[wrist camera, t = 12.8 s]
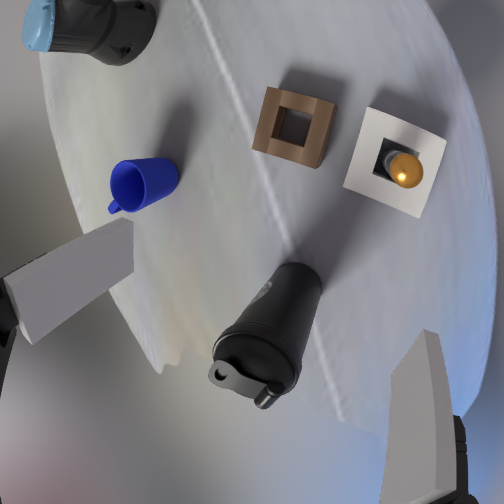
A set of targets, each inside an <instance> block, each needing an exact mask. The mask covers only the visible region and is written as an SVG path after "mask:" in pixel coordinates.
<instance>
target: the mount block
mask: <svg viewBox="0 0 504 504" xmlns="http://www.w3.org/2000/svg"><path fill="white" fill-rule="evenodd" d="M287 108H288V109H292V110H296V111H299V112H303V113H307V114H310V115H313V117H312V121H311V125H310V128H309V132H308V135H307V139H306V142H305V145H302V144H298V143H295V142H292V141H288V140H285V139H282V138H279V137H280V133H281V129H282V125H283V122H284V118H285V114H286V110H287ZM336 110H337V106H336V105H335V104H334V103H331V102H328V101H324V100H321V99H317V98H314V97H310V96H306V95H302V94H298V93H294V92H290V91H286V90H281V89H277V88H272V87H267V90H266V94H265V98H264V102H263V106H262V110H261V114H260V118H259V122H258V126H257V130H256V134H255V138H254V142H253V146H252V149H253V150H257V151H260V152H264V153H267V154H270V155H274V156H277V157H280V158H284V159H287V160H290V161H293V162H296V163H299V164H302V165H305V166H308V167H311V168H314V169H316V168H318V167H320V165H321V161H322V158H323V155H324V151H325V148H326V145H327V141H328V138H329V134H330V131H331V127H332V124H333V120H334V117H335V113H336Z"/></svg>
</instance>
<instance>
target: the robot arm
mask: <svg viewBox="0 0 504 504" xmlns="http://www.w3.org/2000/svg"><path fill="white" fill-rule="evenodd" d="M155 21H156V16H155V11H154V9H153V7H152V6H151V5H150V4H149V3H147V2H145V1H142V0H31V2H30V5H29V7H28V10H27V12H26V16H25V19H24V23H23V29H22V40H23V43H24V46H25V47H26V48H27V49H28V50H32V51H41V52H69V53H83V54H89V55H90V56H92V57H94V58H96V59H97V60H99V61H101V62H103V63H105V64H108V65H115V66H121V65H124V64H127V63H129V62H131V61H132V60H133V59H135V58H136V57H137V56H138V55H139V54H140V53H141V52H142V51H143V49H144V48H145V47H146V45H147V44H148V42H149V40H150V38H151V36H152V34H153V31H154V27H155ZM133 224H134V222H133V221H131V220H128V219H125V218H123V217H122V218H119V219H117V220H115V221H113V222H110V223H108V224H106V225H104V226H102V227H99V228H97V229H95V230H93V231H91V232H89V233H87V234H85V235H83V236H81V237H79V238H77V239H75V240H73V241H70V242H68V243H66V244H65V245H62V246H61V247H59V248H57V249H55V250H53V251H51V252H49V253H45V254H43V255H41V256H40V257H38V258H36V259H35V260H32V261H30V262H28V264H25V265H23V266H22V267H20V268H18V269H16V270H14V271H12V272H11V273H9V274H7V275H5V276H4V277H2V278H0V396H1V391H2V386H3V382H4V377H5V373H6V369H7V365H8V361H9V357H10V354H11V350H12V346H13V343H14V340H15V336H16V331H17V330H16V327H15V326H17V325H18V324H19V326H20V328H21V330H22V333H23V335H24V336H25V337H26V338H27V340H28V341H29V342H30V343H31V344H32V345H33V344H35V343H36V342H37V341H38V340H40V339H41V338H42V337H44V336H45V335H46V334H48V333H49V332H50V331H51V330H53V329H54V328H55V327H57V326H58V325H59V324H61V323H62V322H63V321H65V320H66V319H67V318H69V317H70V316H72V315H73V314H74V313H76V312H77V311H78V310H80V309H81V308H83V307H84V306H85V305H87V304H88V303H89V302H91V301H92V300H94V299H95V298H96V297H98V296H99V295H100V294H102V293H104V292H105V291H107V290H108V289H109V288H111V287H112V286H114V285H115V284H117V283H118V282H119V281H121V280H122V279H124V278H125V277H127V276H128V275H130V274H131V273H133V272H134V262H133ZM465 442H466V435H465V428H464V426H463V423H462V421H461V418H460V416H456V415H453V412H452V404H451V397H450V390H449V384H448V378H447V373H446V367H445V362H444V357H443V353H442V348H441V344H440V339H439V335H438V334H436V333H433V332H430V331H427V330H425V329H423V330H422V332H421V333H420V335H419V336H418V338H417V339H416V341H415V342H414V344H413V345H412V347H411V348H410V350H409V351H408V353H407V354H406V355H405V357H404V358H403V359H402V361H401V362H400V364H399V365H398V366H397V368H396V369H395V370H394V372H393V373H392V374H391V400H390V419H389V433H388V444H387V453H386V463H385V469H384V477H383V483H382V489H381V495H380V500H379V504H479V503H478V501H477V500H476V498H475V497H474V496H472V495H471V494H468V463H467V461H468V460H467V454H466V452H467V445H466V444H465ZM0 504H2V503H1V498H0Z"/></svg>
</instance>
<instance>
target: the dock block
mask: <svg viewBox="0 0 504 504" xmlns="http://www.w3.org/2000/svg"><path fill="white" fill-rule="evenodd" d="M383 138H385V139H387V140H390V141H392V142H394V143H397V144H399V145H401V146H404V147H406V148H408V149H411V150H413V151H414V154H413V156H415V157H416V158H417V159H418V160H419V161H420V162H421V164H422V166H423V171H424V174H423V178H422V181H421V182H420V184H419V185H417V186H416V187H414V188H410V189H406V188H402V187H400V186H399V185H397V184H396V183H395V181H394V180H393V179H391V178H388V177H386V176H383V175H381V174H379V173H376V172H374V171H373V169H374V166H375V163H376V160H377V157H378V154H379V151H380V147H381V144H382V141H383ZM446 143H447V141H446V140H444V139H442V138H440V137H438V136H436V135H434V134H432V133H430V132H428V131H426V130H424V129H422V128H419V127H417V126H415V125H413V124H410V123H408V122H406V121H403V120H401V119H399V118H396V117H394V116H391V115H389V114H386V113H384V112H381V111H378V110H376V109H373V108H370V107H367V109H366V113H365V116H364V120H363V123H362V127H361V130H360V134H359V137H358V140H357V144H356V147H355V150H354V153H353V157H352V160H351V163H350V166H349V169H348V172H347V175H346V178H345V181H344V184H343V187H344V188H347V189H349V190H352V191H355V192H357V193H360V194H362V195H365V196H367V197H370V198H372V199H375V200H377V201H379V202H382V203H384V204H387V205H389V206H391V207H394V208H396V209H398V210H400V211H403V212H405V213H407V214H409V215H412V216H414V217H416V218H418V219H419V218H420V216H421V213H422V211H423V208H424V206H425V203H426V201H427V198H428V196H429V193H430V190H431V188H432V185H433V182H434V179H435V177H436V174H437V171H438V168H439V165H440V162H441V159H442V156H443V152H444V149H445V146H446Z"/></svg>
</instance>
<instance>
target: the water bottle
mask: <svg viewBox="0 0 504 504" xmlns="http://www.w3.org/2000/svg"><path fill="white" fill-rule="evenodd" d="M321 291H322V284H321V280H320V278H319V276H318V275H317V273H316V272H315V271H314V270H313V269H312V268H310V267H309V266H307V265H305V264H302V263H296V262H292V263H287V264H284V265H282V266H280V267H279V268H278V269H277V270H276V271H275V273H274V274H273V275H272V277H271V278H270V279H269V280H268V282H267V283H266V284H265V286H264V287H263V288H262V289H261V290H260V291H259V293H258V294H257V295H256V296H255V298H254V299H253V300H252V301H251V303H250V304H249V305H248V306H247V308H246V309H245V310H244V311H243V313H242V314H241V316H240V317H239V318H238V319H237V321H236V322H235V323H234V324H233V325H232V326H230V327H229V328H227V329H226V330H225V331H224V332H223V333H222V334H221V336H220V337H219V338H218V339H217V341H216V342H215V344H214V347H213V359H214V363H213V365H212V367H211V369H210V371H209V374H208V377H209V380H210V381H211V382H212V383H213V384H215V385H216V386H218V387H221V388H226V389H230V390H233V391H235V392H236V393H238V394H240V395H242V396H245V397H248V398H252V399H254V403H255V405H256V406H257V407H258V408H260V409H267V408H269V407H270V406H271V405H272V404H273V403H274V402H275V401H276V400H277V399H278V398H279V397H280V396H281V395H284V394H286V393H288V392H289V391H291V390H292V389H293V388H294V387H295V385H296V383H297V381H298V378H299V376H300V373H301V369H302V357H303V353H304V350H305V347H306V344H307V340H308V337H309V334H310V330H311V327H312V324H313V320H314V317H315V313H316V310H317V306H318V302H319V299H320V295H321Z"/></svg>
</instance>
